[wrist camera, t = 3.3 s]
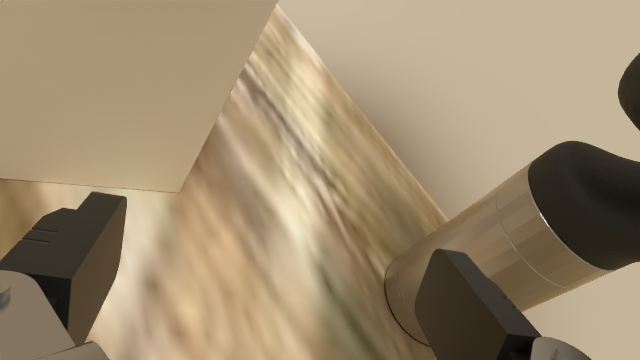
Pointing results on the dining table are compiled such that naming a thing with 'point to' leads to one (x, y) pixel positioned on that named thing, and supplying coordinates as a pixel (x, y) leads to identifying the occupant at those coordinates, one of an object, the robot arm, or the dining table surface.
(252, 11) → the tall beige cuboid
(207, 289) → the dining table surface
